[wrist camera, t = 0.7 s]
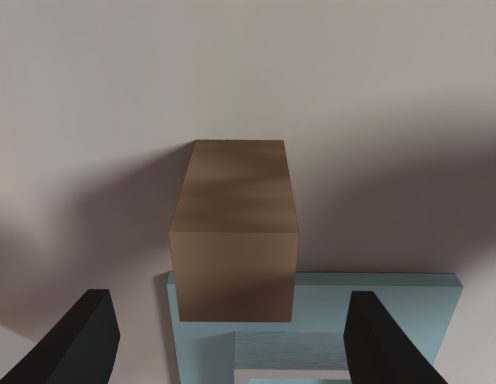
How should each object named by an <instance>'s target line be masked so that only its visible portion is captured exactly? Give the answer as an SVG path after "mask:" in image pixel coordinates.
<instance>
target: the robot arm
mask: <svg viewBox="0 0 496 384" xmlns="http://www.w3.org/2000/svg"><path fill="white" fill-rule="evenodd" d="M119 340H120V332H119V328H118V324H117V320H116V316H115V311H114V307H113V303H112V299H111V295H110V291H109V289H88V290H87V291H86V292H85V293H84V294H83V295H82V297H81V298H80V299H79V300H78V301H77V302H76V303H75V304H74V305H73V306H72V307H71V309H70V310H69V311H68V312H67V313H66V314H65V315H64V316H63V317H62V318H61V319H60V321H59V322H58V323H57V324H56V325H55V326H54V327H53V328H52V329H51V330H50V331H49V332H48V333H47V334H46V335H45V336H44V337H43V338H42V340H41V341H40V342H39V343H38V344H37V345H36V346H35V347H34V348H33V349H32V350H31V351H30V352H29V353H28V354H27V355H26V356H25V357H24V358H23V359H22V360H21V361H20V362H19V363H18V364H17V365H15V366H14V367H13V368H12V369H11V370H10V371H9V372H8V373H7V374H6V375H5V376H4V377H3V378H2V379H1V380H0V384H108V381H109V378H110V375H111V373H112V370H113V366H114V362H115V358H116V353H117V349H118V344H119ZM343 340H344V347H345V353H346V359H347V365H348V370H349V374H350V378H351V382H352V384H448V383H447V382H446V381H445V380H444V379H443V377H442V376H441V375H440V374H439V373H438V372H437V371H436V370H435V369H434V367H433V366H432V365H431V364H430V363H429V362H428V361H427V359H426V358H425V357H424V356H423V355H422V353H421V352H420V351H419V350H418V349H417V347H416V346H415V345H414V344H413V343H412V341H411V340H410V339H409V338H408V336H407V335H406V334H405V333H404V331H403V330H402V329H401V328H400V326H399V325H398V324H397V322H396V321H395V320H394V318H393V317H392V316H391V314H390V313H389V312H388V310H387V309H386V308H385V306H384V305H383V304H382V302H381V301H380V299H379V298H378V297H377V295H376V294H375V293H374V292H373V291H352V292H351V298H350V303H349V308H348V313H347V318H346V324H345V329H344V334H343Z"/></svg>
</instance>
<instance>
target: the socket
mask: <svg viewBox="0 0 496 384" xmlns="http://www.w3.org/2000/svg"><path fill="white" fill-rule="evenodd" d="M343 334H344V332H296V331H236V336H235V360H234V384H249V379H344V380H351V378H350V374H349V370H348V365H347V359H346V353H345V347H344V340H343Z"/></svg>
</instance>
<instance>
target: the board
mask: <svg viewBox="0 0 496 384" xmlns="http://www.w3.org/2000/svg"><path fill="white" fill-rule="evenodd" d="M166 285H167V292H168V299H169V306H170V314H171V321H172V328H173V335H174V342H175V349H176V356H177V363H178V370H179V377H180V384H234V360H235V336H236V331H296V332H344V329H345V324H346V318H347V313H348V308H349V303H350V298H351V292H352V291H373V292H374V293H375V294H376V295H377V297H378V298H379V299H380V301H381V302H382V304H383V305H384V306H385V308H386V309H387V310H388V312H389V313H390V314H391V316H392V317H393V318H394V320H395V321H396V322H397V324H398V325H399V326H400V328H401V329H402V330H403V331H404V333H405V334H406V335H407V336H408V338H409V339H410V340H411V341H412V343H413V344H414V345H415V346H416V347H417V349H418V350H419V351H420V352H421V353H422V355H423V356H424V357H425V358H426V359H427V361H428V362H429V363H430V364H431V365H432V366H433V363H434V361H435V358H436V356H437V353H438V350H439V348H440V345H441V343H442V340H443V338H444V335H445V333H446V330H447V327H448V325H449V322H450V320H451V317H452V315H453V312H454V309H455V307H456V304H457V302H458V299H459V297H460V294H461V292H462V289H463V285H462V284H461V282H460V281H459V279H458V277H457V276H456V274H424V273H299V272H296V275H295V286H294V297H293V309H292V320H291V323H270V322H180V321H179V313H178V305H177V297H176V289H175V281H174V273H173V271H170V272H169V276H168V280H167V284H166ZM249 384H352V382H351V380H344V379H249Z"/></svg>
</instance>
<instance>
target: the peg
mask: <svg viewBox="0 0 496 384" xmlns="http://www.w3.org/2000/svg"><path fill="white" fill-rule="evenodd" d="M168 234H169V241H170V249H171V257H172V265H173V273H174V281H175V289H176V297H177V305H178V313H179V321H180V322H270V323H291V320H292V309H293V297H294V286H295V275H296V263H297V252H298V240H299V229H298V223H297V218H296V212H295V206H294V200H293V194H292V188H291V182H290V176H289V170H288V164H287V158H286V152H285V146H284V140H196V142H195V145H194V148H193V152H192V155H191V158H190V162H189V165H188V168H187V172H186V175H185V178H184V182H183V185H182V188H181V192H180V195H179V198H178V201H177V205H176V208H175V211H174V215H173V218H172V221H171V225H170V228H169V231H168Z"/></svg>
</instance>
